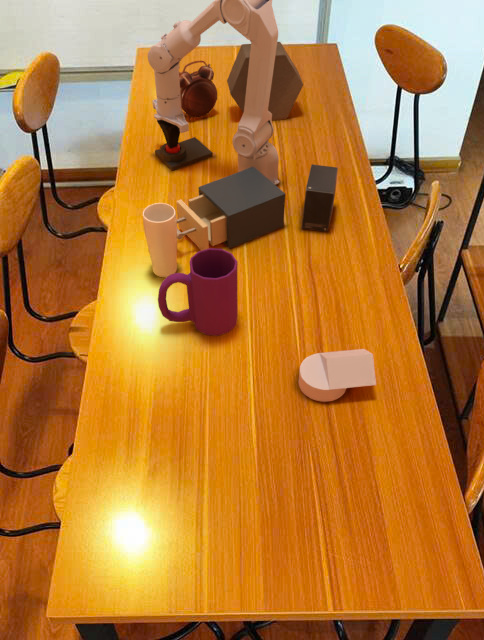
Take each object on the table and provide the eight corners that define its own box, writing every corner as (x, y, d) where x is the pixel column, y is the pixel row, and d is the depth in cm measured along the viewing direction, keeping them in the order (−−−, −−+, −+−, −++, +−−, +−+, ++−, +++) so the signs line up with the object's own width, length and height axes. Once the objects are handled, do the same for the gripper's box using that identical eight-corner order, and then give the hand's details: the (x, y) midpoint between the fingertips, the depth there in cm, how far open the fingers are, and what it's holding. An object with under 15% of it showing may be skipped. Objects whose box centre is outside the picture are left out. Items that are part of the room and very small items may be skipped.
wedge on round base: (361, 360, 132) (294, 367, 131) (366, 336, 126) (296, 342, 126) (373, 396, 126) (303, 403, 125) (379, 372, 121) (306, 379, 120)
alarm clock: (211, 108, 193) (210, 53, 181) (219, 115, 190) (217, 60, 179) (176, 117, 190) (171, 62, 178) (182, 125, 187) (179, 70, 176)
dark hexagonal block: (307, 86, 190) (269, 23, 176) (313, 100, 185) (274, 36, 171) (256, 122, 196) (215, 64, 182) (260, 136, 191) (218, 78, 177)
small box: (329, 233, 157) (334, 193, 148) (300, 229, 158) (304, 190, 149) (334, 205, 163) (339, 166, 155) (306, 202, 164) (310, 163, 156)
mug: (241, 334, 137) (241, 276, 125) (163, 343, 135) (156, 286, 124) (233, 303, 142) (233, 244, 131) (159, 311, 141) (152, 253, 130)
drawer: (185, 261, 150) (183, 235, 144) (160, 233, 156) (157, 207, 151) (255, 232, 156) (256, 206, 150) (228, 207, 162) (228, 181, 157)
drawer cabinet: (229, 248, 154) (228, 215, 147) (200, 219, 161) (198, 186, 154) (283, 226, 158) (285, 193, 152) (252, 199, 165) (253, 166, 159)
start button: (175, 147, 177) (175, 140, 176) (182, 153, 175) (182, 147, 174) (163, 151, 176) (163, 145, 174) (170, 157, 174) (169, 151, 172)
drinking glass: (185, 264, 151) (180, 205, 139) (173, 283, 147) (168, 225, 135) (156, 257, 152) (150, 199, 140) (144, 277, 148) (136, 218, 136)
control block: (195, 141, 182) (194, 130, 180) (212, 156, 177) (212, 146, 175) (154, 155, 178) (153, 144, 176) (171, 171, 173) (170, 160, 171)
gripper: (139, 86, 166) (145, 138, 177) (168, 111, 158) (173, 164, 169) (164, 78, 168) (169, 130, 179) (195, 102, 160) (197, 155, 171)
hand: (172, 146), depth 174 cm, fingers closed, pressing on start button
